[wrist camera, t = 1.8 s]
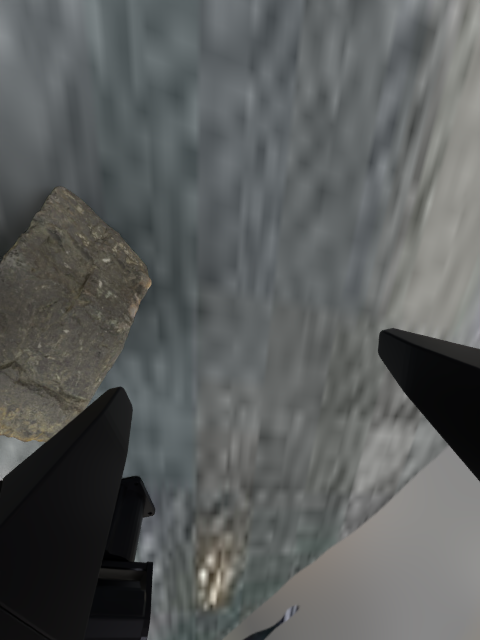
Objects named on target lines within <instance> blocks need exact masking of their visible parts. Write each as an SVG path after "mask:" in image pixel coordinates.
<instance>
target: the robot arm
mask: <svg viewBox="0 0 480 640" xmlns="http://www.w3.org/2000/svg"><path fill="white" fill-rule="evenodd" d="M378 353H379V356H380V358H381V359H382V361H383V362H384V364H385V365H386V367H387V368H388V370H389V371H390V373H391V374H392V375H393V377H394V378H395V380H396V381H397V383H398V384H399V386H400V387H401V388H402V390H403V391H404V392H405V394H406V395H407V396H408V397H409V399H410V400H411V401H412V402H413V403H414V405H415V406H416V407H417V408H418V409H419V410H420V412H421V413H422V414H423V415H424V416H425V418H426V419H427V420H428V421H429V422H430V423H431V425H432V426H433V427H434V428H435V429H436V430H437V432H438V433H439V434H440V435H441V436H442V438H443V439H444V440H445V441H446V442H447V443H448V445H449V446H450V447H451V448H452V449H453V451H454V452H455V453H456V454H457V455H458V456H459V458H460V459H461V460H462V461H463V462H464V463H465V465H466V466H467V467H468V468H469V469H470V471H472V473H473V474H474V475H475V476H476V477H477V479H478V480H479V481H480V349H477V348H473V347H469V346H464V345H460V344H456V343H452V342H448V341H444V340H440V339H436V338H432V337H428V336H423V335H419V334H415V333H411V332H407V331H403V330H399V329H395V328H391V329H386V330H382V331H381V332H380V334H379V345H378ZM132 412H133V409H132V404H131V402H130V400H129V398H128V396H127V394H126V392H125V390H124V388H123V387H116V388H112V389H109V390H107V391H106V392H105V393H104V394H103V395H101V396H100V397H99V398H98V399H97V400H96V401H94V402H93V403H92V404H91V405H90V406H88V407H87V408H86V409H85V410H84V411H82V412H81V413H80V414H79V415H78V416H76V417H75V418H74V419H73V420H72V421H71V422H69V423H68V424H67V425H66V426H65V427H63V428H62V429H61V430H60V431H59V432H57V433H56V434H55V435H54V436H53V437H52V438H50V439H49V440H48V441H47V442H46V443H44V444H43V445H42V446H41V447H40V448H38V449H37V450H36V451H35V452H34V453H32V454H31V455H30V456H29V457H28V458H27V459H25V460H24V461H23V462H22V463H21V464H19V465H18V466H17V467H16V468H15V469H13V470H12V471H11V472H10V473H9V474H8V475H6V476H5V477H4V478H3V481H2V480H1V481H0V640H147V637H148V631H149V624H150V614H151V594H152V574H153V562H147V563H142V562H134V561H135V555H136V550H137V545H138V540H139V535H140V529H141V524H142V519H143V518H144V517H149V516H153V515H154V514H155V507H154V505H153V503H152V501H151V499H150V497H149V495H148V492H147V490H146V488H145V486H144V484H143V482H142V480H141V478H138V477H135V478H130V479H125V480H121V479H122V475H123V470H124V466H125V462H126V457H127V452H128V445H129V436H130V428H131V420H132Z"/></svg>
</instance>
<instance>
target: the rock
mask: <svg viewBox="0 0 480 640" xmlns="http://www.w3.org/2000/svg"><path fill="white" fill-rule="evenodd" d="M150 286H151V279H150V278H149V276H148V270H147V267H146V265H145V264H144V263H143V261H142V260H141V259H140V258H139V256H138V255H137V254H136V253H135V252H134V251H133V250H132V249H131V248H130V247H129V245H128V244H127V243H126V242H125V241H124V239H123V238H122V237H121V236H120V234H119V233H118V232H117V231H115V230H114V229H112V228H111V227H110V226H108V225H107V224H106V223H105V222H104V221H102V220H101V219H100V218H99V217H98V216H97V215H96V214H95V213H94V211H93V210H92V209H91V208H90V207H89V206H88V205H87V204H86V203H85V202H84V201H83V200H81V199H80V198H79V197H77V196H76V195H75V194H73V193H72V192H71V191H69V190H68V189H66V188H64V187H61V186H60V187H55V188H54V189H53V191H52V192H51V194H50V195H49V196H48V197H47V199H46V201H45V203H44V204H43V206H42V208H41V210H40V211H39V212H38V213H36V214H35V216H34V218H33V219H32V222H31V225H30V227H29V229H28V230H27V231H26V232H25V234H21V235H20V237H19V239H18V240H17V242H16V243H15V245H14V246H13V247H12V248H11V249H10V250H9V251H8V252H7V253H6V254H5V255H4V257H3V259H2V261H1V263H0V435H5V436H6V437H14V438H17V439H19V440H21V441H23V442H28V441H31V440H37V441H38V442H42V441H44V442H47V441H48V440H49V439H50V438H52V437H53V436H54V435H55V434H56V433H57V432H59V431H60V430H61V429H62V428H63V427H65V426H66V425H67V424H68V423H69V422H71V421H72V420H73V419H74V418H75V417H76V416H78V415H79V414H80V413H81V412H82V411H84V410H85V408H86V407H87V405H88V404H89V402H90V400H91V399H92V397H93V396H94V394H95V392H96V390H97V388H98V387H99V385H100V384H101V382H102V381H103V379H104V377H105V376H106V374H107V372H108V371H109V370H110V369H111V368H112V366H113V364H114V362H115V361H116V359H117V357H118V356H119V354H120V353H121V351H122V349H123V347H124V343H125V341H126V339H127V336H128V333H129V330H130V327H131V325H132V323H133V322H134V317H135V314H136V312H137V310H138V307H139V304H140V301H141V300H142V299H143V298H144V296H145V294H146V293H147V291H148V289H149V287H150Z"/></svg>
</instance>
